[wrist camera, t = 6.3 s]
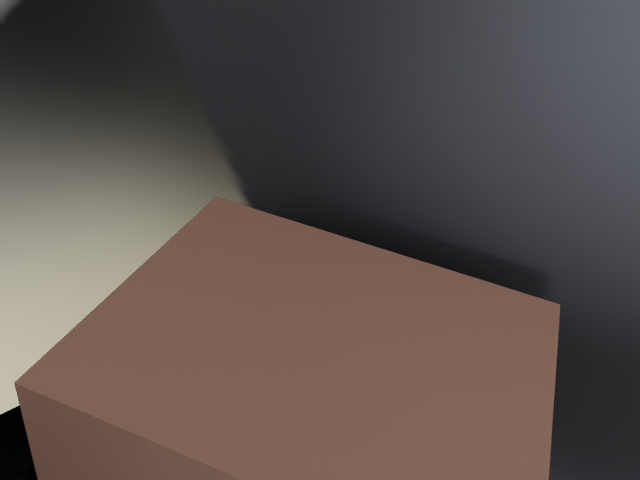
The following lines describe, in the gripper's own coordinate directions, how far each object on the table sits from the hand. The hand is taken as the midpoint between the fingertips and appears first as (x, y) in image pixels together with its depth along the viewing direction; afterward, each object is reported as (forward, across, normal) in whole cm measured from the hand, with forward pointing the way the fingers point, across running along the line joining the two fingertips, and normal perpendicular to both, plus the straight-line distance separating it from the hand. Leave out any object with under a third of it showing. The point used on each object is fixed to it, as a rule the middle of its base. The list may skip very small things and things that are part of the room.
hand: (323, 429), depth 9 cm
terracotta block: (+1, 0, 0) cm, 1 cm away
